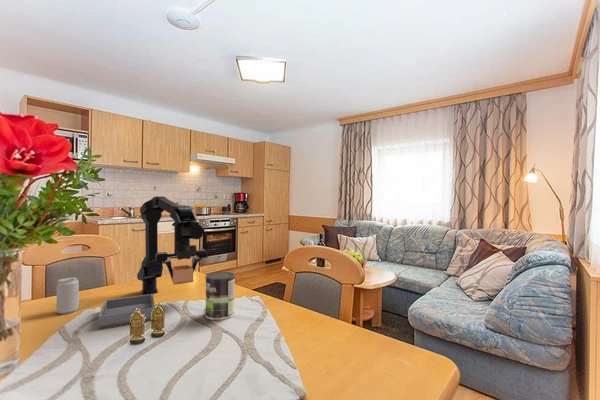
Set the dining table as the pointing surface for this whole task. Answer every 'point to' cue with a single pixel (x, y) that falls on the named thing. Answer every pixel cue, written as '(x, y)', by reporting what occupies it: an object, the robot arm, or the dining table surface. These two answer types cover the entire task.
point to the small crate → (182, 274)
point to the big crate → (124, 310)
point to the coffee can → (220, 295)
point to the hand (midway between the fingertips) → (182, 277)
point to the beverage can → (67, 295)
